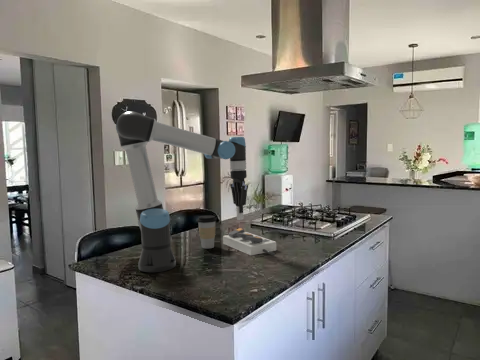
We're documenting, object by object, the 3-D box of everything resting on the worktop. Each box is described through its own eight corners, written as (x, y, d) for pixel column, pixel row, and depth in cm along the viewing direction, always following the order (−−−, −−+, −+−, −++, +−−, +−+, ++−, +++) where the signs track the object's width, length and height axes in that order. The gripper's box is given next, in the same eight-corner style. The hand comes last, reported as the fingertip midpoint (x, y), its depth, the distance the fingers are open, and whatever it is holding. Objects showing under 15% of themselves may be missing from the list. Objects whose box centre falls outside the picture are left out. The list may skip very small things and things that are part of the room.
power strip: (260, 259, 167) (260, 248, 166) (223, 243, 196) (222, 234, 195) (286, 254, 174) (286, 243, 173) (246, 239, 203) (246, 230, 203)
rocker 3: (249, 240, 176) (250, 236, 176) (244, 239, 180) (245, 235, 180) (262, 242, 180) (262, 238, 180) (257, 240, 183) (258, 236, 183)
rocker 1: (232, 237, 190) (232, 234, 190) (229, 236, 194) (228, 232, 194) (244, 232, 194) (243, 229, 193) (240, 230, 197) (239, 227, 197)
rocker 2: (240, 237, 183) (241, 233, 183) (236, 235, 187) (236, 232, 187) (252, 238, 187) (253, 235, 187) (248, 237, 190) (249, 233, 190)
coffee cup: (194, 248, 189) (193, 217, 187) (205, 243, 197) (204, 214, 196) (211, 250, 184) (209, 219, 183) (221, 245, 192) (220, 215, 191)
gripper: (252, 169, 179) (254, 220, 181) (238, 168, 190) (239, 216, 192) (238, 171, 175) (240, 222, 177) (224, 169, 186) (226, 218, 189)
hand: (240, 219), depth 185 cm, fingers closed
